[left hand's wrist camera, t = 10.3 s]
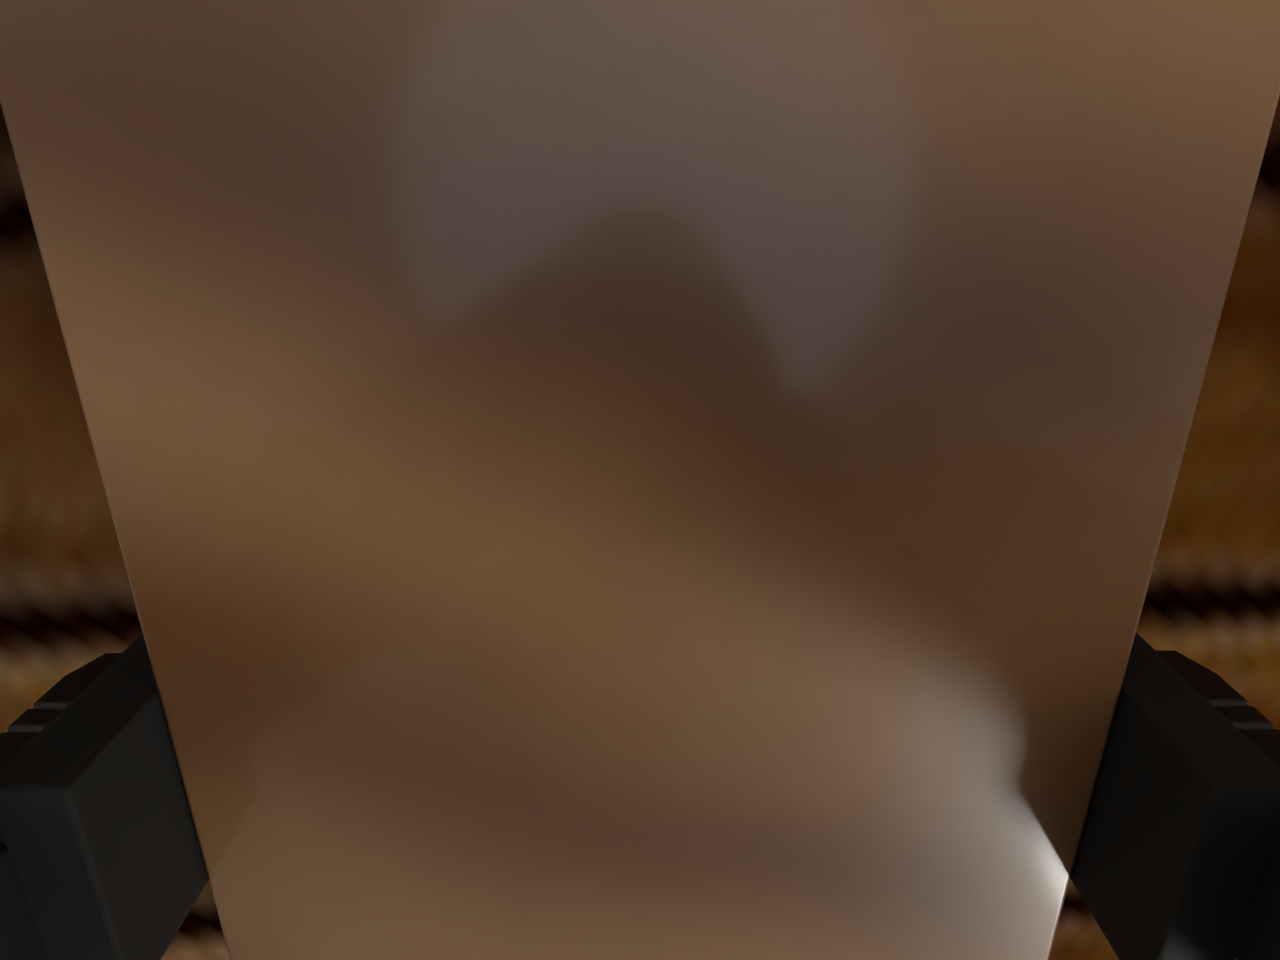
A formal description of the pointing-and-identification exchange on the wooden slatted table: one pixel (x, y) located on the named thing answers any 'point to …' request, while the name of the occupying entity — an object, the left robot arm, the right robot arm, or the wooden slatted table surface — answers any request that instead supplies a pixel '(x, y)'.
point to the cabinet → (639, 442)
